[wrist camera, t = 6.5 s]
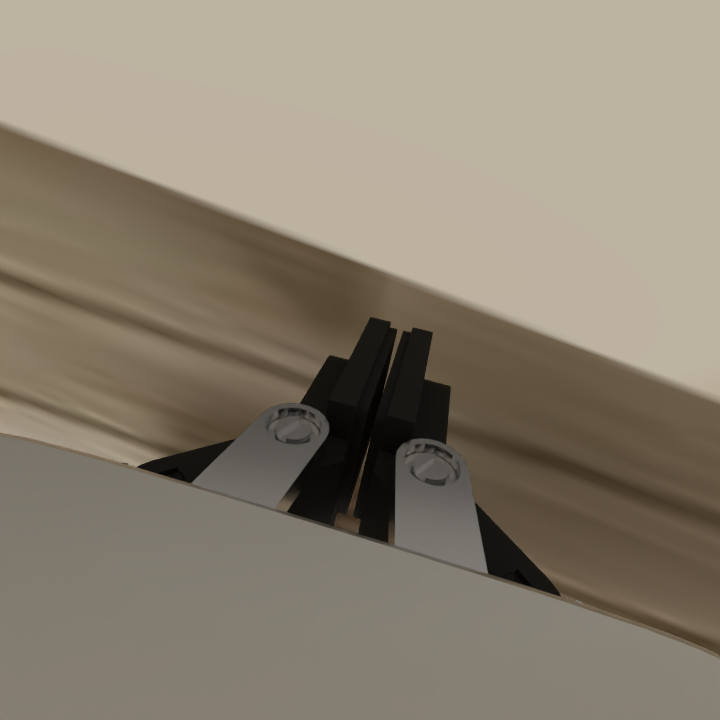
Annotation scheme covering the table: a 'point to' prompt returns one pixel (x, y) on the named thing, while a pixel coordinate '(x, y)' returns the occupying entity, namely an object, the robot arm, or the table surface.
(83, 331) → the table surface
